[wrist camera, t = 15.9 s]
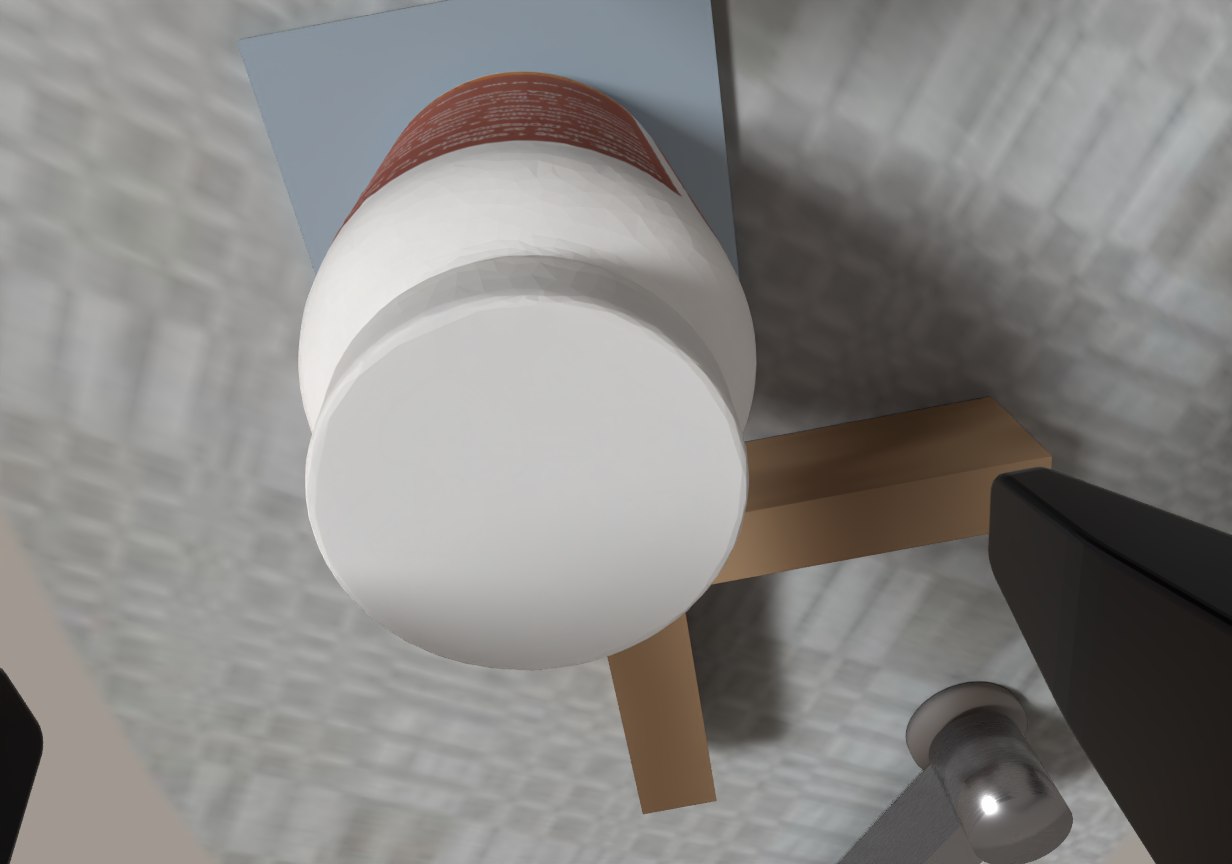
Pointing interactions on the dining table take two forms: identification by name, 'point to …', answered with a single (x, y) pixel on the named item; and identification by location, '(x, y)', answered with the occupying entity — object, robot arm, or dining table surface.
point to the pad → (474, 47)
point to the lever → (972, 803)
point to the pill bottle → (526, 383)
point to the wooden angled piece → (823, 533)
